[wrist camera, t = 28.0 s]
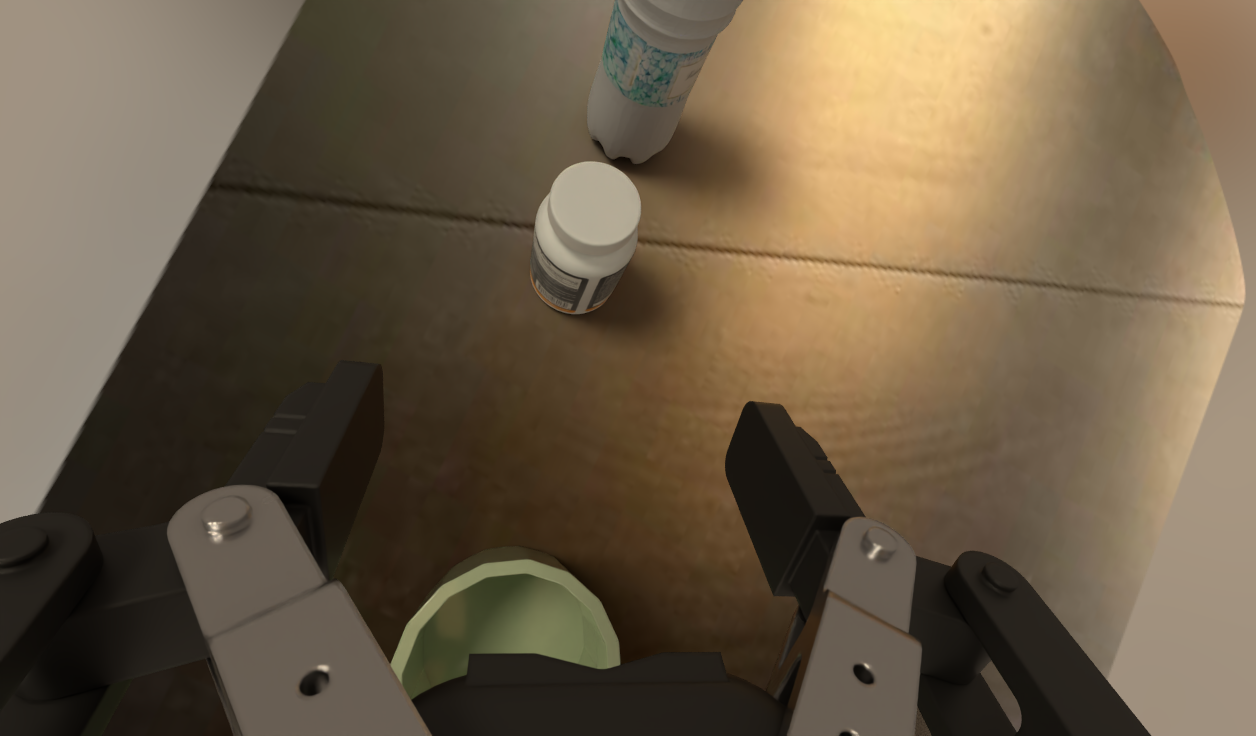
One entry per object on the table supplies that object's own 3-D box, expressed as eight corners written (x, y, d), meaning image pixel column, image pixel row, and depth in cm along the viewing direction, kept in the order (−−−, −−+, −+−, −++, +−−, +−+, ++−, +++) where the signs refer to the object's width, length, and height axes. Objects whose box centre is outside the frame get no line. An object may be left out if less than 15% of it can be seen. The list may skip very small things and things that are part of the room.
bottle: (645, 191, 40) (780, -87, 21) (562, 142, 39) (625, -191, 20) (683, 125, 42) (839, -184, 23) (606, 77, 41) (700, -281, 22)
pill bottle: (599, 230, 38) (632, 142, 29) (624, 306, 37) (667, 242, 28) (518, 245, 37) (525, 159, 27) (542, 326, 36) (558, 265, 26)
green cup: (382, 707, 29) (343, 780, 22) (456, 523, 32) (443, 531, 24) (558, 755, 31) (578, 840, 23) (613, 575, 33) (648, 597, 26)
